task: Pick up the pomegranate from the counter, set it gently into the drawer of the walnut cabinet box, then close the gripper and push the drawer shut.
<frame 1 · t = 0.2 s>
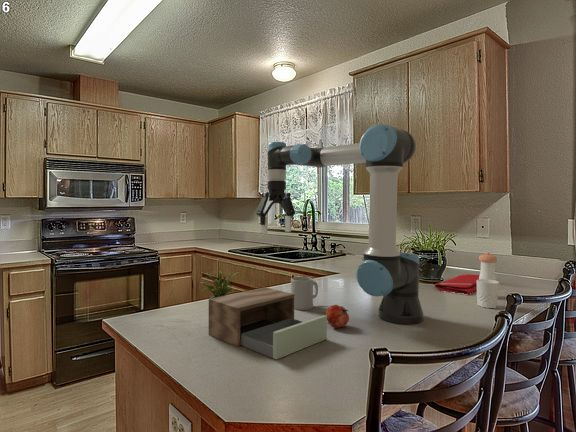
hand: (276, 232, 158), 28 cm above the counter, tool pointing down, fingers open, 13 cm apart
mug: (305, 307, 148), on the counter
white cup: (486, 306, 151), on the counter
drawer: (284, 329, 110), point 4 cm above the counter, slide at 12.0 cm
pomegranate: (336, 327, 125), on the counter
dish drying mat: (465, 286, 189), on the counter
house plant: (222, 314, 137), on the counter
pepper shaker: (486, 297, 167), on the counter
cabinet box: (252, 330, 120), on the counter
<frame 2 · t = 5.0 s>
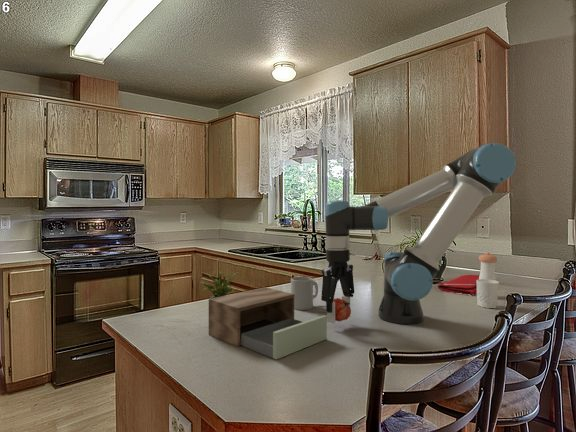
hand: (338, 319, 124), 3 cm above the counter, tool pointing down, fingers closed on pomegranate, 7 cm apart
pomegranate: (338, 320, 124), point 2 cm above the counter, touching gripper
dish drying mat: (467, 287, 188), on the counter
everything else where it was.
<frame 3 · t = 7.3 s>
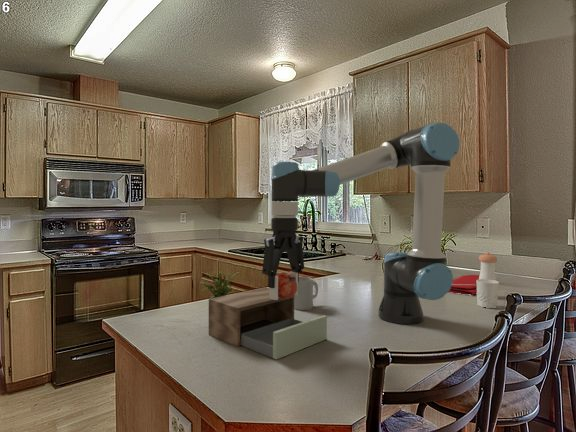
hand: (283, 296, 110), 13 cm above the counter, tool pointing down, fingers closed on pomegranate, 7 cm apart
pomegranate: (283, 298, 110), point 13 cm above the counter, touching gripper
when the fingers open (2 cm above the counter, at t = 9.8 s): pomegranate stays where it is, resting on drawer.
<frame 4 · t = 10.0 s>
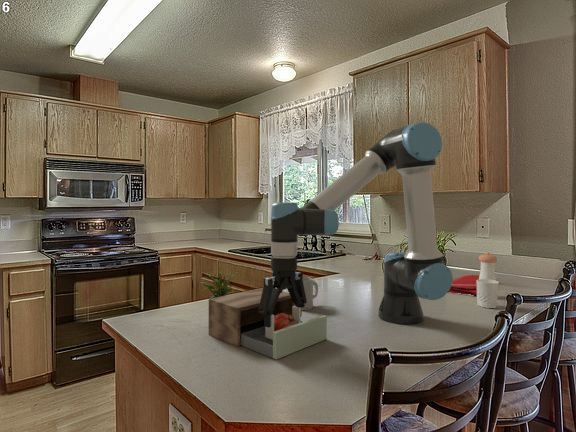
hand: (283, 333, 110), 3 cm above the counter, tool pointing down, fingers open, 10 cm apart
drawer: (284, 329, 110), point 4 cm above the counter, slide at 12.0 cm, touching pomegranate
pomegranate: (283, 338, 111), point 1 cm above the counter, touching drawer
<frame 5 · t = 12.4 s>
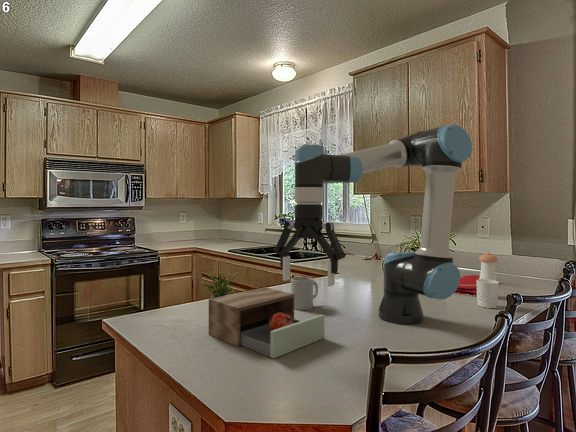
hand: (307, 282, 104), 19 cm above the counter, tool pointing down, fingers open, 13 cm apart
drawer: (281, 329, 111), point 4 cm above the counter, slide at 11.0 cm, touching pomegranate
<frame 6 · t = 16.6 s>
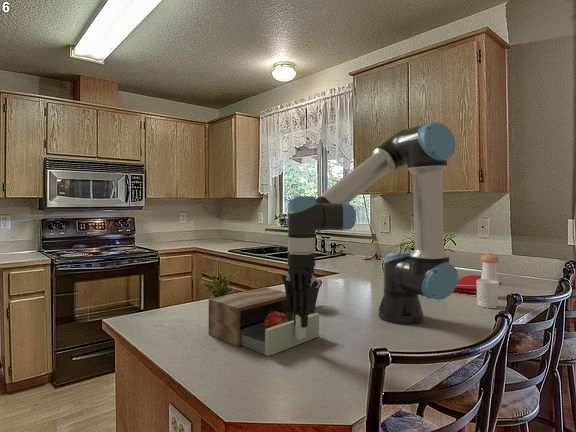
hand: (300, 337, 106), 3 cm above the counter, tool pointing down, fingers closed
drawer: (276, 327, 112), point 4 cm above the counter, slide at 9.0 cm, touching gripper, pomegranate
pomegranate: (276, 336, 113), point 1 cm above the counter, touching drawer
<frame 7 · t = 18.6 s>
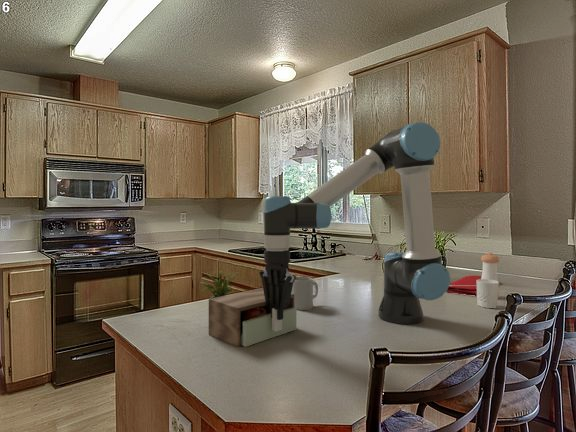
hand: (277, 329, 112), 3 cm above the counter, tool pointing down, fingers closed
drawer: (256, 320, 119), point 4 cm above the counter, slide at -0.1 cm, touching gripper, pomegranate
pomegranate: (255, 328, 119), point 1 cm above the counter, touching drawer
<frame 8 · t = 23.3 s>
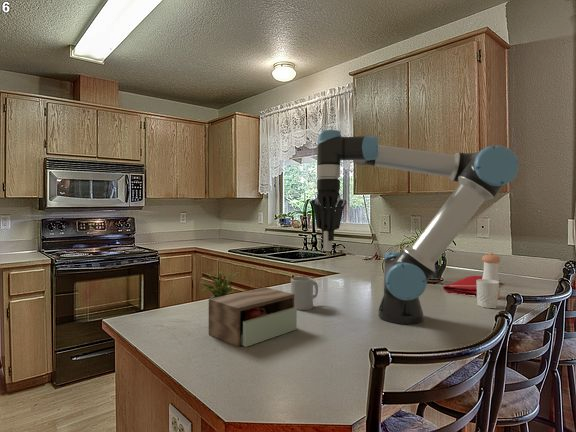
hand: (327, 250, 126), 24 cm above the counter, tool pointing down, fingers closed
drawer: (256, 320, 118), point 4 cm above the counter, slide at 0.0 cm, touching pomegranate
at the end: drawer slide at 0.0 cm; pomegranate inside the target area on the cabinet box (0.8 cm from its centre), point 1.0 cm above the cabinet box's base; pomegranate touching drawer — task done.
